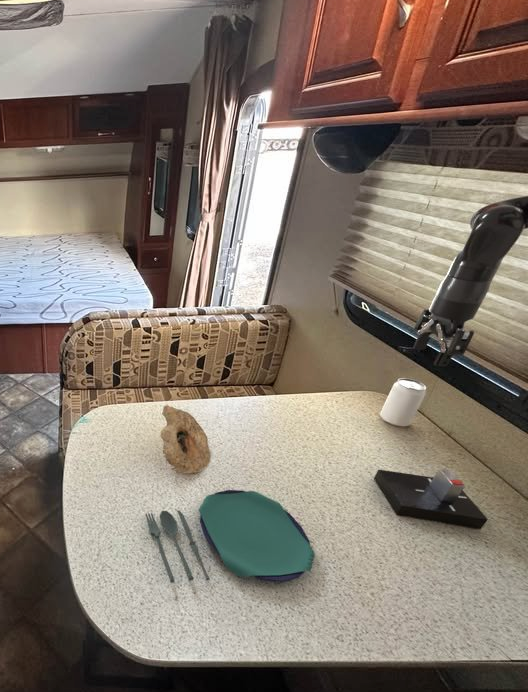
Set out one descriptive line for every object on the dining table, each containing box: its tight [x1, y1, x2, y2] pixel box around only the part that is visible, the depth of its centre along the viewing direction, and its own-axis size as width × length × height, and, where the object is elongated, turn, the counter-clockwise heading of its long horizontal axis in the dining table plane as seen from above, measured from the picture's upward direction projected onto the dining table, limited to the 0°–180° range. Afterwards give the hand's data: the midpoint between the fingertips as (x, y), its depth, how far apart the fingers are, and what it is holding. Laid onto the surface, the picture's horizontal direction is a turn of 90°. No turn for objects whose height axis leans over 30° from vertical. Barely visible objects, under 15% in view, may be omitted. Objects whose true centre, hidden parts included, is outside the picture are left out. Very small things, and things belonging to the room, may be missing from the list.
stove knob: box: [429, 468, 466, 503], centre depth 77 cm, size 4×2×5 cm, turn 164°
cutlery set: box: [145, 489, 316, 583], centre depth 74 cm, size 20×30×2 cm, turn 93°
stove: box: [373, 468, 489, 530], centre depth 79 cm, size 14×10×3 cm
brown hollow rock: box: [160, 404, 211, 475], centre depth 96 cm, size 18×14×8 cm
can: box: [379, 377, 427, 428], centre depth 100 cm, size 6×6×12 cm
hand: (428, 357), depth 92 cm, fingers open, 8 cm apart
